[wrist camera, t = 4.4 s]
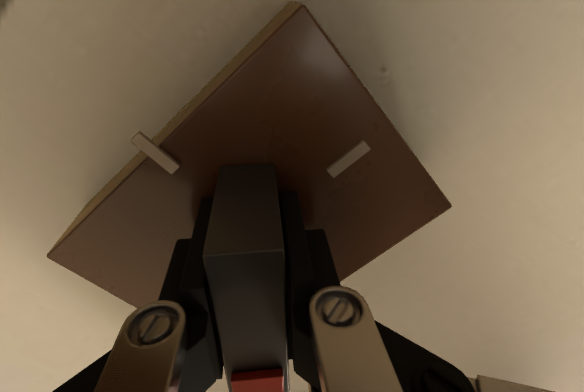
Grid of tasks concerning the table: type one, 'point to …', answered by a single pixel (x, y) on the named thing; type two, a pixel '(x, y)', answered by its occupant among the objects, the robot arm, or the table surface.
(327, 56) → the knob panel
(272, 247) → the black rectangular block
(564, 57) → the table surface
